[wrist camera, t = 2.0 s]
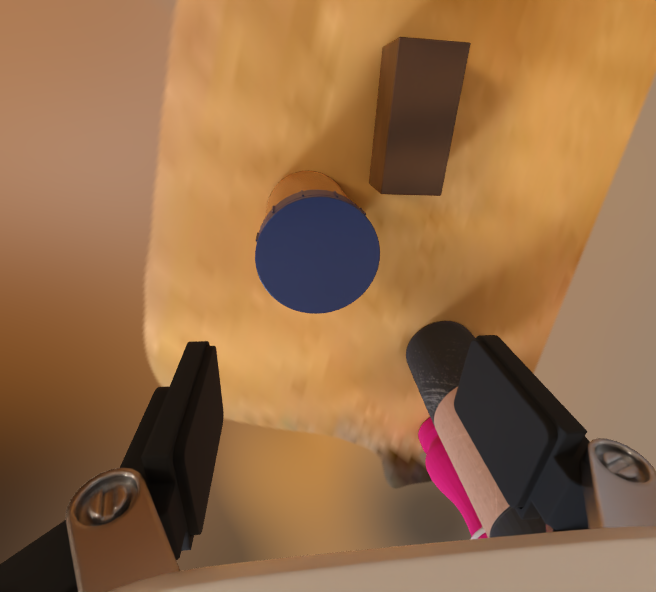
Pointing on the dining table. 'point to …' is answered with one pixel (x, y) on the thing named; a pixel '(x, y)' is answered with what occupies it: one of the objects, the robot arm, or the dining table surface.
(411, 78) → the stand
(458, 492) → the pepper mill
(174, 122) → the dining table surface
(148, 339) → the dining table surface
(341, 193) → the jam jar
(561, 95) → the dining table surface
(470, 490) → the travel mug
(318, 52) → the dining table surface
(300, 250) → the jar lid
